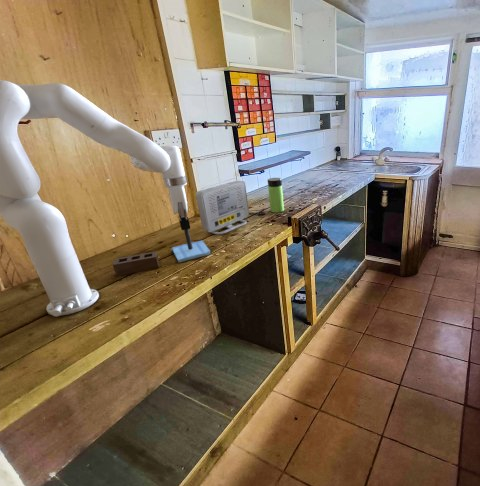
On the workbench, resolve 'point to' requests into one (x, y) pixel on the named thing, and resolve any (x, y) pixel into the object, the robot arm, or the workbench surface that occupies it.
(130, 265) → the pen stand
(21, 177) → the robot arm
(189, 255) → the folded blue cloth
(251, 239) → the workbench surface
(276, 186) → the tumbler
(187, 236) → the stylus
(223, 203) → the network device
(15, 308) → the workbench surface
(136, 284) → the workbench surface
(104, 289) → the workbench surface
